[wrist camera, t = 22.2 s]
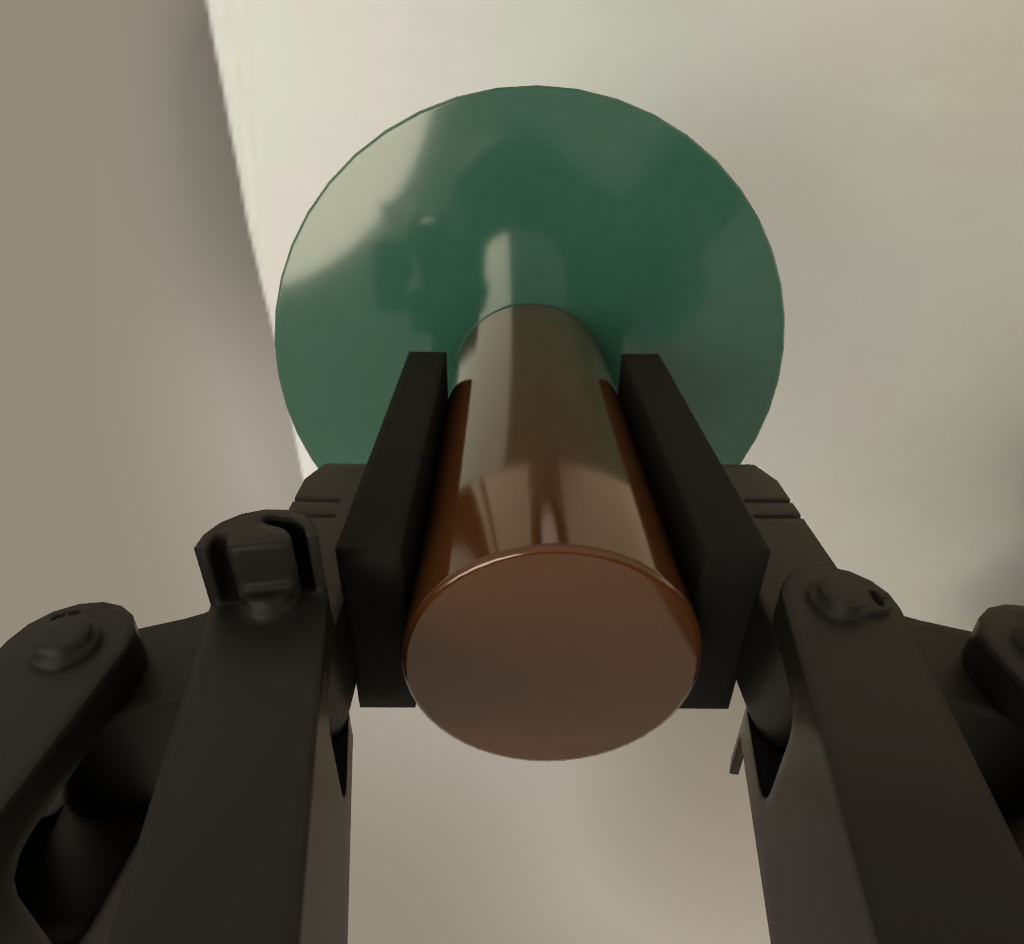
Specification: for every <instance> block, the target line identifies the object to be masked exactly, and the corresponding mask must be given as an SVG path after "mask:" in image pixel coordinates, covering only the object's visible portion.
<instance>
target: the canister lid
mask: <svg viewBox="0 0 1024 944" xmlns="http://www.w3.org/2000/svg"><path fill="white" fill-rule="evenodd" d="M784 325H785V313H784V304H783V295H782V286H781V281H780V277H779V273H778V269H777V265H776V262H775V258H774V254H773V250H772V248H771V245H770V243H769V241H768V238H767V236H766V234H765V231H764V229H763V227H762V224H761V222H760V220H759V218H758V216H757V214H756V213H755V211H754V209H753V208H752V206H751V205H750V203H749V201H748V200H747V198H746V197H745V195H744V193H743V192H742V190H741V189H740V187H739V186H738V185H737V184H736V182H735V181H734V180H733V179H732V178H731V177H730V175H729V174H728V173H727V172H726V171H725V170H724V168H723V167H722V166H721V165H720V164H719V163H718V161H717V160H716V159H715V158H714V157H712V156H711V155H710V154H709V153H708V152H707V151H705V150H704V149H703V148H702V147H701V146H700V145H698V144H697V143H696V142H695V141H694V140H693V139H691V138H690V137H689V136H688V135H687V134H685V133H683V132H682V131H680V130H679V129H677V128H675V127H674V126H672V125H670V124H669V123H667V122H666V121H664V120H662V119H661V118H659V117H657V116H656V115H654V114H652V113H650V112H647V111H645V110H643V109H640V108H638V107H635V106H633V105H631V104H628V103H626V102H624V101H621V100H619V99H616V98H612V97H608V96H604V95H600V94H596V93H592V92H588V91H584V90H580V89H572V88H561V87H550V86H539V85H536V86H520V87H504V88H494V89H490V90H485V91H481V92H476V93H471V94H467V95H462V96H457V97H455V98H452V99H450V100H447V101H444V102H442V103H439V104H436V105H434V106H431V107H429V108H426V109H423V110H421V111H419V112H417V113H415V114H413V115H412V116H410V117H408V118H406V119H405V120H403V121H401V122H399V123H397V124H396V125H394V126H392V127H390V128H389V129H387V130H385V131H384V132H383V133H381V134H380V135H379V136H377V137H376V138H375V139H374V140H372V141H371V142H370V143H369V144H367V145H366V146H365V147H363V148H362V149H361V150H360V151H358V152H357V153H356V154H355V155H354V156H353V157H352V158H351V159H350V160H349V161H348V162H347V163H346V164H345V165H344V166H343V167H342V168H341V169H340V171H339V172H338V173H337V174H336V175H335V176H334V177H333V178H332V179H331V180H330V181H329V182H328V184H327V185H326V187H325V188H324V189H323V191H322V192H321V194H320V195H319V197H318V198H317V200H316V201H315V202H314V204H313V205H312V207H311V208H310V210H309V211H308V213H307V215H306V217H305V219H304V221H303V223H302V225H301V227H300V229H299V231H298V233H297V235H296V237H295V239H294V241H293V243H292V245H291V249H290V252H289V255H288V258H287V261H286V264H285V267H284V270H283V273H282V276H281V281H280V287H279V293H278V299H277V305H276V313H275V350H276V358H277V368H278V375H279V379H280V383H281V387H282V391H283V395H284V399H285V403H286V406H287V409H288V411H289V414H290V416H291V419H292V421H293V424H294V426H295V429H296V431H297V434H298V436H299V437H300V439H301V441H302V443H303V445H304V446H305V448H306V450H307V452H308V454H309V455H310V457H311V459H312V460H313V462H314V463H315V464H316V466H317V467H318V469H319V468H320V467H321V466H323V465H324V464H325V463H342V464H367V462H368V460H369V457H370V454H371V452H372V449H373V446H374V444H375V441H376V438H377V436H378V433H379V430H380V428H381V425H382V423H383V420H384V417H385V415H386V412H387V409H388V407H389V404H390V401H391V399H392V396H393V393H394V391H395V388H396V385H397V383H398V380H399V377H400V375H401V372H402V369H403V367H404V364H405V361H406V359H407V356H408V353H409V352H446V355H447V379H448V404H447V409H446V415H445V420H444V425H443V430H442V436H441V441H440V446H439V451H438V457H437V462H436V467H435V472H434V477H433V483H432V488H431V493H430V498H429V504H428V509H427V514H426V519H425V525H424V530H423V535H422V540H421V546H420V551H419V556H418V561H417V566H416V572H415V577H414V582H413V587H412V593H411V598H410V603H409V608H408V614H407V619H406V624H405V629H404V635H403V640H402V646H401V664H402V669H403V674H404V678H405V680H406V683H407V686H408V688H409V691H410V693H411V695H412V697H413V698H414V700H415V702H416V703H417V705H418V706H419V708H420V709H421V710H422V711H423V712H424V714H425V715H426V716H427V717H428V718H429V719H430V720H431V721H432V722H433V723H435V725H437V726H438V727H439V728H440V729H442V730H443V731H445V732H446V733H447V734H449V735H450V736H452V737H454V738H456V739H457V740H459V741H461V742H463V743H465V744H467V745H469V746H472V747H474V748H476V749H479V750H482V751H485V752H488V753H491V754H494V755H499V756H503V757H508V758H513V759H521V760H529V761H564V760H572V759H580V758H585V757H590V756H594V755H599V754H602V753H606V752H609V751H612V750H615V749H618V748H620V747H623V746H625V745H628V744H630V743H632V742H634V741H636V740H638V739H640V738H641V737H644V736H645V735H647V734H648V733H650V732H651V731H653V730H654V729H656V728H657V727H659V726H660V725H661V724H662V723H664V722H665V721H666V720H667V719H668V718H670V717H671V716H672V715H673V713H674V712H675V711H676V710H677V709H678V708H679V707H680V706H681V705H682V703H683V702H684V700H685V699H686V698H687V696H688V695H689V693H690V691H691V689H692V687H693V685H694V683H695V682H696V678H697V675H698V672H699V669H700V665H701V658H702V651H703V648H702V634H701V630H700V626H699V621H698V619H697V616H696V613H695V610H694V607H693V605H692V602H691V599H690V596H689V594H688V591H687V588H686V585H685V582H684V580H683V577H682V574H681V571H680V568H679V566H678V563H677V560H676V557H675V555H674V552H673V549H672V546H671V543H670V541H669V538H668V535H667V532H666V529H665V527H664V524H663V521H662V518H661V516H660V513H659V510H658V507H657V504H656V502H655V499H654V496H653V493H652V490H651V488H650V485H649V482H648V479H647V477H646V474H645V471H644V468H643V465H642V463H641V460H640V457H639V454H638V451H637V449H636V446H635V443H634V440H633V438H632V435H631V432H630V429H629V426H628V424H627V421H626V418H625V415H624V412H623V410H622V407H621V404H620V401H619V399H618V396H617V394H618V384H619V375H620V365H621V355H622V354H659V356H660V357H661V359H662V361H663V363H664V364H665V366H666V368H667V370H668V371H669V373H670V375H671V377H672V378H673V380H674V382H675V384H676V386H677V387H678V389H679V391H680V393H681V394H682V396H683V398H684V400H685V401H686V403H687V405H688V407H689V408H690V410H691V412H692V414H693V415H694V417H695V419H696V421H697V422H698V424H699V426H700V428H701V430H702V431H703V433H704V435H705V437H706V438H707V440H708V442H709V444H710V445H711V447H712V449H713V451H714V452H715V454H716V456H717V458H718V459H719V461H720V463H721V464H733V465H740V463H741V462H742V460H743V459H744V457H745V456H746V454H747V452H748V451H749V449H750V447H751V446H752V444H753V443H754V441H755V439H756V438H757V436H758V433H759V431H760V429H761V427H762V425H763V422H764V420H765V418H766V416H767V414H768V411H769V409H770V406H771V403H772V399H773V396H774V393H775V390H776V386H777V383H778V380H779V374H780V368H781V362H782V356H783V350H784Z"/></svg>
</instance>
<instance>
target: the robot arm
mask: <svg viewBox="0 0 1024 944" xmlns="http://www.w3.org/2000/svg"><path fill="white" fill-rule="evenodd" d="M617 396H618V399H619V401H620V404H621V407H622V410H623V412H624V415H625V418H626V421H627V424H628V426H629V429H630V432H631V435H632V438H633V440H634V443H635V446H636V449H637V451H638V454H639V457H640V460H641V463H642V465H643V468H644V471H645V474H646V477H647V479H648V482H649V485H650V488H651V490H652V493H653V496H654V499H655V502H656V504H657V507H658V510H659V513H660V516H661V518H662V521H663V524H664V527H665V529H666V532H667V535H668V538H669V541H670V543H671V546H672V549H673V552H674V555H675V557H676V560H677V563H678V566H679V568H680V571H681V574H682V577H683V580H684V582H685V585H686V588H687V591H688V594H689V596H690V599H691V602H692V605H693V607H694V610H695V613H696V616H697V619H698V621H699V626H700V630H701V634H702V648H703V651H702V658H701V665H700V669H699V672H698V675H697V678H696V682H695V683H694V685H693V687H692V689H691V691H690V693H689V695H688V696H687V698H686V699H685V700H684V702H683V703H682V705H681V706H680V707H679V708H695V709H699V708H700V709H704V708H705V709H728V708H729V704H730V700H731V697H732V693H733V689H734V685H735V682H736V680H737V683H738V685H739V688H740V690H741V693H742V696H743V698H744V701H745V703H746V706H747V707H746V710H745V713H744V717H743V720H742V724H741V727H740V731H739V734H738V738H737V741H736V744H735V748H734V751H733V754H732V758H731V766H730V773H731V774H738V773H739V770H740V767H741V763H742V760H743V758H744V765H745V772H746V778H747V785H748V792H749V798H750V805H751V812H752V819H753V825H754V832H755V839H756V846H757V853H758V859H759V866H760V873H761V880H762V887H763V893H764V900H765V907H766V913H767V920H768V927H769V933H770V940H771V944H1024V606H1018V605H1007V604H1005V605H1000V606H996V607H991V608H988V609H987V610H986V611H985V612H984V613H983V614H982V615H981V616H980V617H979V619H978V621H977V623H976V625H975V627H974V629H973V631H972V632H970V631H965V630H961V629H956V628H951V627H947V626H942V625H938V624H933V623H929V622H924V621H920V620H916V619H912V618H909V617H905V616H904V615H903V613H902V611H901V609H900V608H899V606H898V605H897V604H896V603H895V601H894V600H893V599H892V597H891V596H890V595H889V594H888V593H887V592H886V591H884V590H883V589H881V588H880V587H879V586H877V585H876V584H874V583H873V582H872V581H870V580H868V579H865V578H863V577H861V576H859V575H856V574H854V573H852V572H850V571H845V570H841V569H837V567H836V566H835V564H834V563H833V561H832V560H831V558H830V557H829V556H828V554H827V553H826V551H825V550H824V548H823V547H822V545H821V544H820V542H819V541H818V540H817V538H816V537H815V535H814V534H813V532H812V531H811V529H810V528H809V526H808V525H807V524H806V522H805V521H804V519H801V518H800V513H799V512H798V510H797V509H796V508H795V506H794V505H793V503H790V499H789V497H788V496H787V494H786V493H785V492H784V490H783V489H782V487H781V486H780V484H779V483H778V481H777V480H775V479H774V478H772V477H771V476H769V475H768V474H767V473H765V472H764V471H762V470H761V469H759V468H758V467H757V466H755V465H733V464H721V463H720V461H719V459H718V458H717V456H716V454H715V452H714V451H713V449H712V447H711V445H710V444H709V442H708V440H707V438H706V437H705V435H704V433H703V431H702V430H701V428H700V426H699V424H698V422H697V421H696V419H695V417H694V415H693V414H692V412H691V410H690V408H689V407H688V405H687V403H686V401H685V400H684V398H683V396H682V394H681V393H680V391H679V389H678V387H677V386H676V384H675V382H674V380H673V378H672V377H671V375H670V373H669V371H668V370H667V368H666V366H665V364H664V363H663V361H662V359H661V357H660V356H659V354H622V355H621V365H620V375H619V384H618V394H617ZM447 404H448V379H447V355H446V352H409V353H408V356H407V359H406V361H405V364H404V367H403V369H402V372H401V375H400V377H399V380H398V383H397V385H396V388H395V391H394V393H393V396H392V399H391V401H390V404H389V407H388V409H387V412H386V415H385V417H384V420H383V423H382V425H381V428H380V430H379V433H378V436H377V438H376V441H375V444H374V446H373V449H372V452H371V454H370V457H369V460H368V462H367V464H342V463H325V464H324V465H323V466H321V467H320V468H319V469H317V470H316V471H315V472H314V473H312V474H311V475H310V476H308V477H307V478H306V479H305V480H304V481H303V483H302V485H301V487H300V489H299V491H298V493H297V495H296V497H295V502H293V503H292V505H291V506H290V508H289V510H260V511H255V512H250V513H245V514H241V515H238V516H236V517H233V518H231V519H228V520H226V521H223V522H221V523H220V524H218V525H217V526H215V527H214V528H212V529H211V530H210V531H208V532H207V533H205V534H204V535H203V536H202V538H201V539H200V541H199V542H198V543H197V545H196V546H195V548H194V550H195V553H196V557H197V560H198V564H199V567H200V570H201V574H202V577H203V580H204V583H205V587H206V590H207V594H208V597H209V600H210V603H211V607H210V610H209V611H208V612H206V613H204V614H201V615H197V616H193V617H190V618H187V619H182V620H178V621H173V622H169V623H164V624H159V625H155V626H150V627H145V628H141V629H138V628H137V625H136V622H135V620H134V617H133V615H131V613H129V612H128V611H127V610H126V609H125V608H123V607H122V606H119V605H114V604H110V603H105V602H98V603H86V604H78V605H75V606H71V607H68V608H64V609H61V610H58V611H54V612H52V613H50V614H48V615H46V616H44V617H42V618H40V619H38V620H36V621H34V622H32V623H30V624H28V625H27V626H26V627H24V628H23V629H22V630H21V631H20V632H18V633H17V634H16V635H14V636H13V637H12V638H10V639H9V640H8V641H7V642H6V643H5V644H4V645H3V646H2V647H1V648H0V944H347V940H348V903H349V902H348V900H349V865H350V827H351V825H350V823H351V787H352V749H353V734H352V729H351V723H350V717H349V710H350V706H351V702H352V698H353V694H354V690H355V686H356V684H357V690H358V697H359V703H360V707H415V706H416V702H415V700H414V698H413V697H412V695H411V693H410V691H409V688H408V686H407V683H406V680H405V678H404V674H403V669H402V664H401V646H402V640H403V635H404V629H405V624H406V619H407V614H408V608H409V603H410V598H411V593H412V587H413V582H414V577H415V572H416V566H417V561H418V556H419V551H420V546H421V540H422V535H423V530H424V525H425V519H426V514H427V509H428V504H429V498H430V493H431V488H432V483H433V477H434V472H435V467H436V462H437V457H438V451H439V446H440V441H441V436H442V430H443V425H444V420H445V415H446V409H447Z"/></svg>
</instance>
